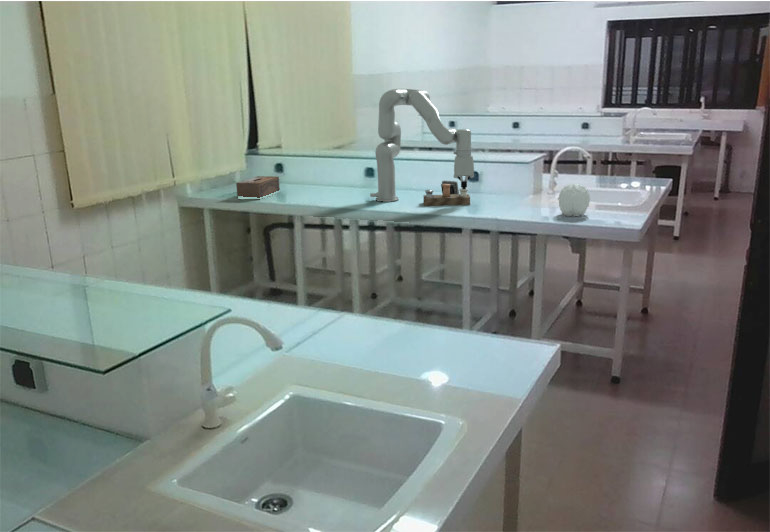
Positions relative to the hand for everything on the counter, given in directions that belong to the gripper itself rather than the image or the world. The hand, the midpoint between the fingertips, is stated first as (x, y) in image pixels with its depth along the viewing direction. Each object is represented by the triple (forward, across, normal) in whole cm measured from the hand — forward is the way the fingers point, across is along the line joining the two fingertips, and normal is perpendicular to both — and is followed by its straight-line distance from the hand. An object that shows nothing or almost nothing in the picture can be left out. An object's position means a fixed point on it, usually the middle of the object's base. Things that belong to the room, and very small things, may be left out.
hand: (464, 188), depth 342 cm
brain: (+8, +49, -35) cm, 61 cm away
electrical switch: (+8, -6, +20) cm, 22 cm away
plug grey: (+7, -18, 0) cm, 20 cm away
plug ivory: (+7, 0, 0) cm, 7 cm away
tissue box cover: (+7, -118, +40) cm, 125 cm away
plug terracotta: (+4, -9, 0) cm, 10 cm away
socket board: (+8, -9, 0) cm, 12 cm away
